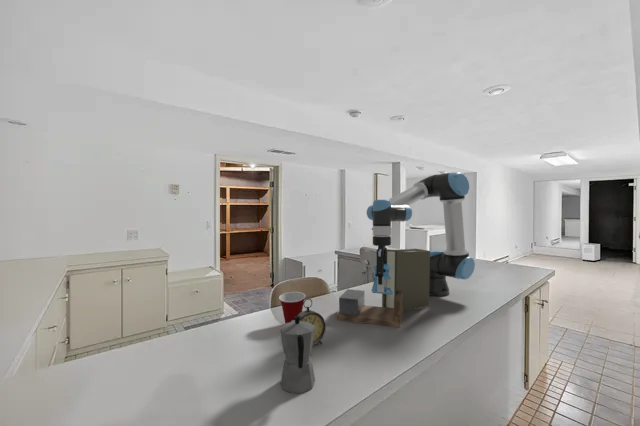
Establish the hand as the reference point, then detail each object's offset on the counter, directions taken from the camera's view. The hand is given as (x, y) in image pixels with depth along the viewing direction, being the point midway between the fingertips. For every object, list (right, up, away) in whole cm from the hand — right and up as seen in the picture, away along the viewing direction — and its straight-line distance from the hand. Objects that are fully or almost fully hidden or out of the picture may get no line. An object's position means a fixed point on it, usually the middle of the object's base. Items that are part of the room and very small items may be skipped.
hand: (381, 289), depth 126 cm
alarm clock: (-30, -13, -26) cm, 42 cm away
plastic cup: (-37, -13, -7) cm, 40 cm away
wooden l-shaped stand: (-5, -12, +2) cm, 13 cm away
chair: (0, -1, 0) cm, 1 cm away
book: (+15, -13, +14) cm, 24 cm away
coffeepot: (-32, -13, -48) cm, 59 cm away
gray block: (-12, -10, +5) cm, 16 cm away
